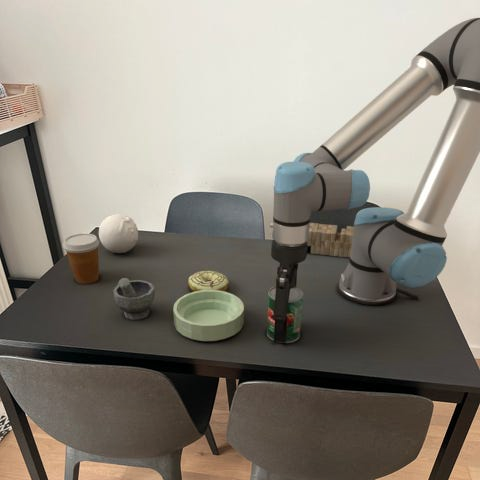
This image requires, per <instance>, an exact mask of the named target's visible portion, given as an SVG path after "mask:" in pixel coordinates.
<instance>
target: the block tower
mask: <svg viewBox="0 0 480 480" xmlns="http://www.w3.org/2000/svg"><path fill="white" fill-rule="evenodd" d="M353 231H354V226H351V225H347V226H346V228H341V230H340V232H338V224H325V223H324V224H323V223H318V222H316V223H315V222H310V227H309V238H308V240H307V243H308V246H307V250H308V249H309V247H310V254H312V255H320V256H330V257H339V258H349V259H350V252H351V245H352V238H353Z"/></svg>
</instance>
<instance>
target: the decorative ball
mask: <svg viewBox="0 0 480 480" xmlns="http://www.w3.org/2000/svg"><path fill="white" fill-rule="evenodd" d="M98 237H99V242H100V243H101V245H102V246H103V247H104V248H105V249H106V250H107V251H109V252H111V253H114V254H124V253H128V252H129V251H131V250H132V249H133V248H134V247H135V246H136V244H137V243H138V239H139V229H138V226H137V224H136V222H135V221H134V220H133V218H132V217H130V216H127V215H124V214H119V213H118V214H111V215H109V216H106V218H104V219H103V220H102V221H101V223H100V225H99V228H98Z"/></svg>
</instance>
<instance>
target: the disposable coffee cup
mask: <svg viewBox="0 0 480 480" xmlns="http://www.w3.org/2000/svg"><path fill="white" fill-rule="evenodd" d="M99 246H100V239H98V237H97V235H95V234H93V233H87V232H85V233H81V232H80V233H75V234H71V235H69V236H66V237H65V238H64V239H63V244H62V248H63V249H64V250H65V251H66V252H65V253H66V255H67V258H68V261H69V263H70V267H71V270H72V273H73V276H74V278H75V281H76V282H77V283H79V284H81V285H82V284H84V285H86V284H92V283H94V282H97V281H98V280H99V279H100V269H99Z"/></svg>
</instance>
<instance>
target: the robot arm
mask: <svg viewBox="0 0 480 480" xmlns="http://www.w3.org/2000/svg"><path fill="white" fill-rule="evenodd" d="M452 86H453V87H452ZM449 87H452V90H453V93H454V95H455V101H454V104H453V106H452V108H451V111H450V112H449V115H448V117H447V120H446V121H445V124H444V127H443V129H442V131H441V133H440V135H439V138H438V140H437V142H436V145H435V147H434V149H433V151H432V153H431V156H430V158H429V161H428V163H427V164H426V166H425V169H424V172H423V174H422V175H421V178H420V181H419V183H418V185H417V188H416V190H415V192H414V194H413V196H412V199H411V200H410V203H409V205H408V208H407V210H406V212H404V211H403V210H400V209H397V208H393V207H385V206H384V207H381V206H380V207H379V206H377V207H376V206H375V207H367V208H362V209H360V210H359V211H358V212H357V213H356V215H355V219H354V223H353V227H354V231H353V238H352V245H351V252H350V258H349V261H348V263H347V266H346V268H345V270H344V271H343V272H341V275H340V279H339V282H338V292H339V294H340V295H341V296H342V297H344V299H347V300H348V301H351V302H353V303H357V304H360V305H367V306H381V305H386V304H389V303H391V302H392V301H393V300H395V298H396V295H397V293H399V294H402V295H405V296H407V297H409V298H412V299H415V300H418V299H419V295H416V294H413V293H411V292H409V291H406V290H403V289H400V288H398V287H397V284H398V283H399V285H401V286H402V287H404V288H409V289H415V288H421V287H423V286H425V285H426V284H428V283H431V282H433V281H434V280H435V279H436V278H438V277H439V275H440V274H441V273H442V272H443V270H444V268H445V267H446V264H447V260H448V256H447V252H446V250H445V248H444V246H443V245H444V243H445V242H446V239H447V237H448V233H447V231H446V228H445V224H446V222H447V221H448V218H449V217H450V214H451V212H452V211H453V208H454V206H455V204H456V202H457V200H458V198H459V197H460V194H461V192H462V189H463V187H464V185H465V183H466V181H467V180H468V178H469V176H470V174H471V171H472V169H473V167H474V165H475V163H476V161H477V159H478V156H479V155H480V17H473V18H469V19H467V20H466V19H465V20H463V21H461V22H460V23H457V24H455V25H454V26H452V27H450V28H449V29H447V30H446V31H445V32H444V33H442V34H440V35H439V36H437V37H436V38H435V39H434V40H432V41H431V42H430V43H429V44H428V45H427V46H425V47H424V48H423V49H422V50H421V51H420V52H419V53H417V54H416V55H415V56H414V57H412V59H411V61H410V67H408V69H407V70H405V71H404V72H403V73H402V74H401V75H400V76H398V77H397V78H396V79H395V80H394V81H393V82H392V83H390V84H389V85H388V86H387V87H386V88H385V89H383V90H382V91H381V92H380V93H379V94H378V95H376V96H375V98H373V99H372V100H371V101H370V102H368V104H366V105H365V106H364V107H363V108H362V109H360V110H359V112H357V113H356V114H355V115H354V116H352V118H350V119H349V120H348V121H347V122H346V123H345V124H344V125H343V126H341V127H340V128H339V129H338V130H337V131H336V132H334V133H333V134H332V135H331V136H330V137H329V138H328V139H327V140H325V142H323V143H321V145H320V146H319V147H317V148H316V149H315V150H314V151H313V152H303V153H301V154H299V155H297V156H296V157H295V158H294V160H293V161H286V162H282V163H280V164H279V165H278V166H277V167H276V169H275V170H276V171H275V175H274V184H273V211H272V213H273V215H272V222H271V223H270V224H269V227H270V228H272V235H271V238H272V241H271V247H270V249H271V251H270V256H271V258H272V259H273V261H275V262H278V263H279V266H277V268H276V269H277V270H276V274H277V276H276V278H275V286H276V293H275V305H274V315H272V316H271V318H273V320H275V326H274V341H273V342H275V341H276V343H279V342H282V343H281V344H287V343H286V334H287V321H288V317H287V310H288V301H289V295H290V289H291V288H294V286H295V287H297V284H298V283H297V282H298V270H299V264H301V263H302V262H304V261H305V260H306V259H307V255H308V249H307V246H308V243H307V240H308V238H309V227H310V223H311V215H312V214H311V213H313V212H324V211H326V212H327V211H338V210H350V209H356V208H361V207H363V206H364V205H365V204H366V203H367V202H368V200H369V197H370V193H371V183H370V178H369V176H368V174H367V173H366V171H364V170H361V169H352V168H351V169H349V170H346V169H347V168H348V167H349V166H350V165H352V164H353V163H354V162H355V161H356V160H358V159H359V158H360V157H361V156H362V155H363V154H364V153H365V152H367V151H368V150H370V148H372V146H374V145H375V144H376V143H377V142H378V141H380V140H381V139H382V138H383V137H384V136H385V135H387V134H388V133H389V132H390V131H392V130H393V129H394V128H395V127H396V126H397V125H398V124H400V123H401V122H402V121H403V120H404V119H405V118H406V117H408V116H409V115H410V114H411V113H412V112H414V111H415V110H416V109H417V108H418V107H420V106H421V105H422V104H423V103H425V102H426V101H427V100H428V99H429V98H431V96H433V97H437V96H440V95H441V94H442V93H443V92H444V91H445V90H446V89H448V88H449ZM308 247H309V246H308Z"/></svg>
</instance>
